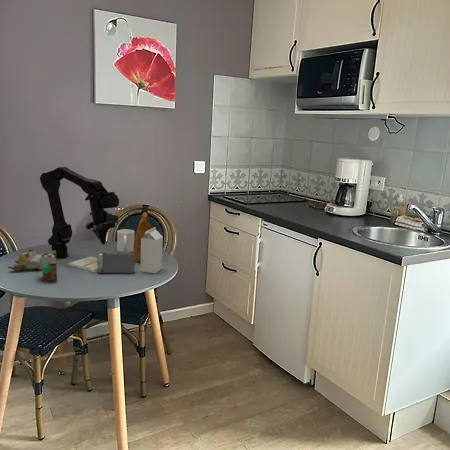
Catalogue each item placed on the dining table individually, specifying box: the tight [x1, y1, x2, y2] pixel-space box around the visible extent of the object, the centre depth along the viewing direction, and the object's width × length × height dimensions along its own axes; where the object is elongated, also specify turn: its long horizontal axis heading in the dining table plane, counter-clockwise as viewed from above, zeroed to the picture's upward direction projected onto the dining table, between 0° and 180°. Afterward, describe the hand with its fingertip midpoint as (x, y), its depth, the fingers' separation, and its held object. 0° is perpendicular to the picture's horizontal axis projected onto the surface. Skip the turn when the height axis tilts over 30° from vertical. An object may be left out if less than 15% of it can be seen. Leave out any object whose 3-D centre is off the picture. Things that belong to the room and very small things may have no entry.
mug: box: [116, 228, 135, 253], centre depth 226 cm, size 12×8×10 cm
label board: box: [68, 256, 97, 273], centre depth 203 cm, size 15×13×2 cm
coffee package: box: [132, 211, 153, 263], centre depth 215 cm, size 10×12×22 cm
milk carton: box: [139, 226, 164, 274], centre depth 199 cm, size 7×7×19 cm
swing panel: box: [96, 252, 136, 274], centre depth 194 cm, size 15×3×8 cm, turn 101°
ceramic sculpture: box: [7, 249, 43, 271], centre depth 193 cm, size 11×9×15 cm
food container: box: [40, 250, 58, 283], centre depth 182 cm, size 12×6×10 cm, turn 21°
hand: (103, 244), depth 202 cm, fingers closed
